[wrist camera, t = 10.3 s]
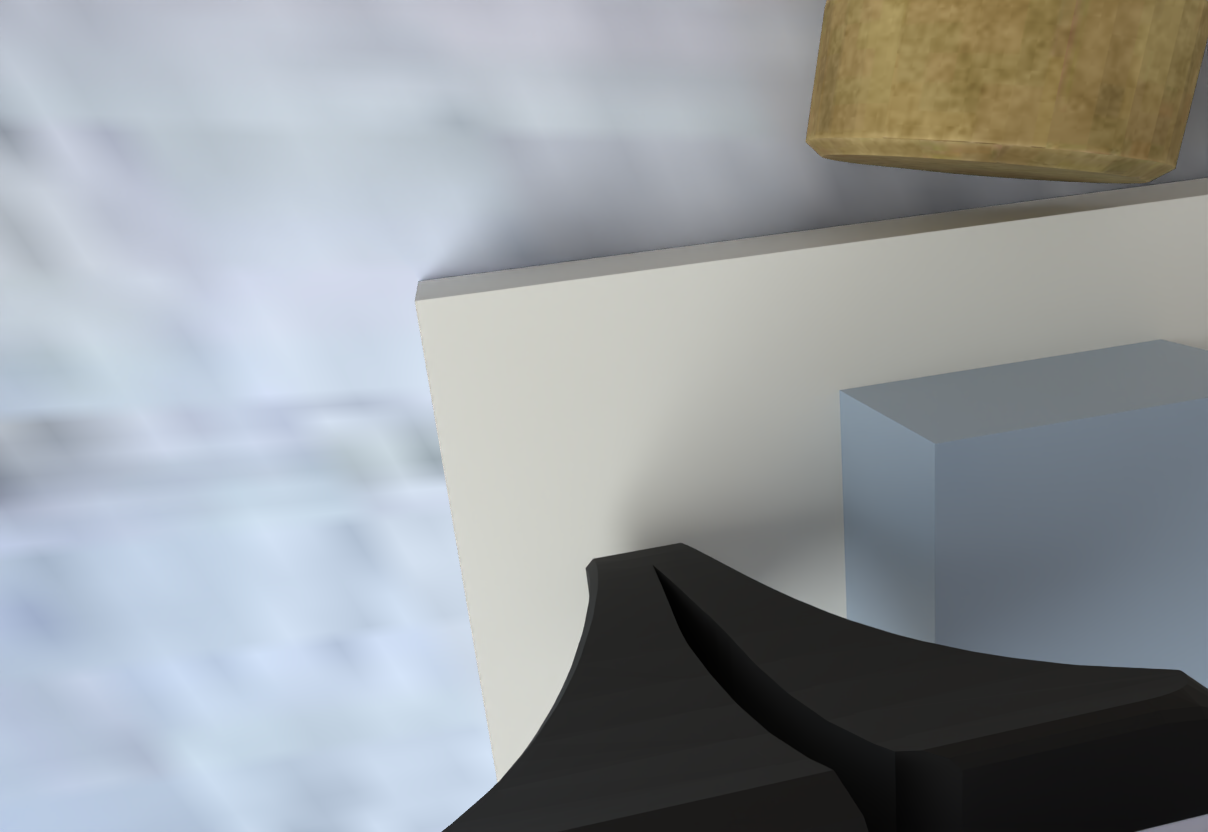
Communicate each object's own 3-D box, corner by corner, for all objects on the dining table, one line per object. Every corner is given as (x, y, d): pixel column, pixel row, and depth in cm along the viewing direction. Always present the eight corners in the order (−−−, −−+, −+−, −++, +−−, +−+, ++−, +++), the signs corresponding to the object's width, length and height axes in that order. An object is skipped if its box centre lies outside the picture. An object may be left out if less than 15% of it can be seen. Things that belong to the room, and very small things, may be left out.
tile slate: (1137, 639, 14) (1275, 732, 12) (849, 699, 14) (934, 811, 11) (1161, 338, 13) (1323, 377, 11) (840, 390, 12) (935, 443, 10)
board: (1185, 923, 19) (1266, 1005, 17) (555, 1089, 17) (569, 1201, 16) (1264, 170, 15) (1385, 170, 13) (418, 281, 13) (414, 300, 11)
